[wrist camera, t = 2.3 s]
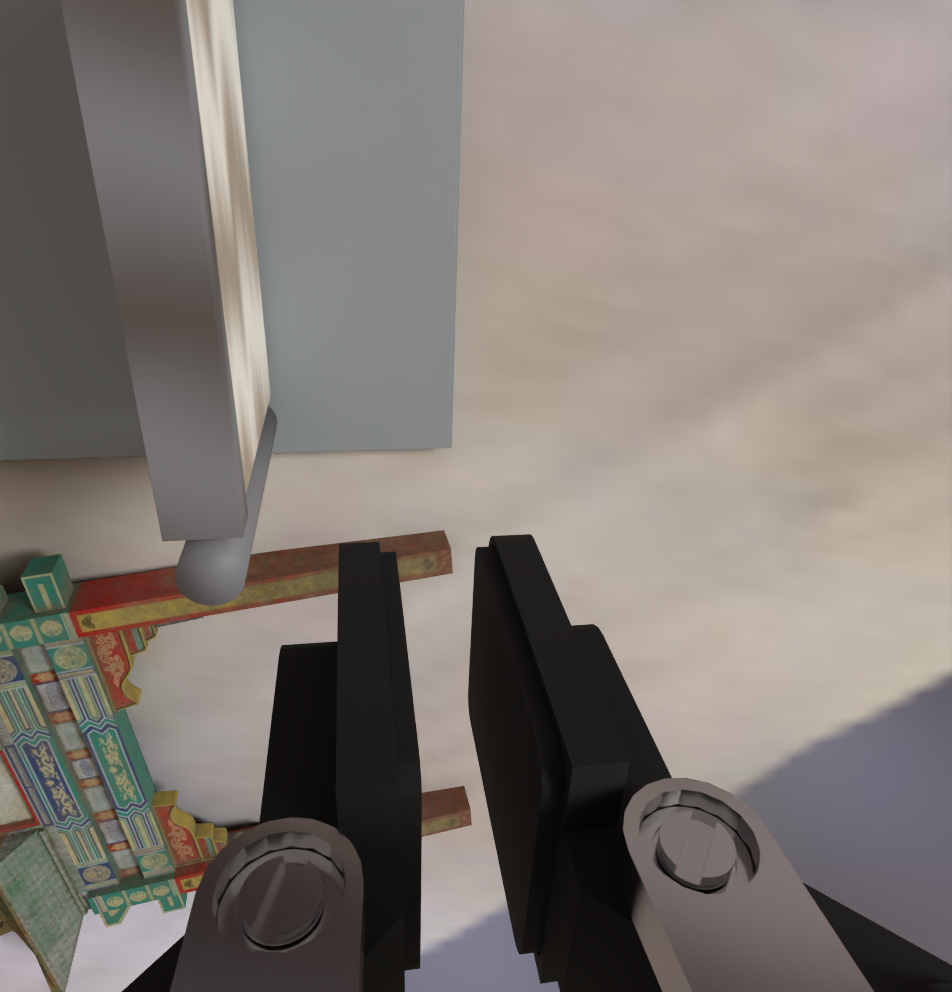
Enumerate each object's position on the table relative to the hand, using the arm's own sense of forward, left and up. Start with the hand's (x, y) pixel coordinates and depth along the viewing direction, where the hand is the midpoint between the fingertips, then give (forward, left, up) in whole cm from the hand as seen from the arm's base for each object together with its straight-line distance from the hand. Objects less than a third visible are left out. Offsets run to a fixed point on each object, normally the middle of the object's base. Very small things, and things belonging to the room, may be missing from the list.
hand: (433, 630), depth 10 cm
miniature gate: (-11, -22, -22) cm, 33 cm away
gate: (-5, +4, -20) cm, 21 cm away
